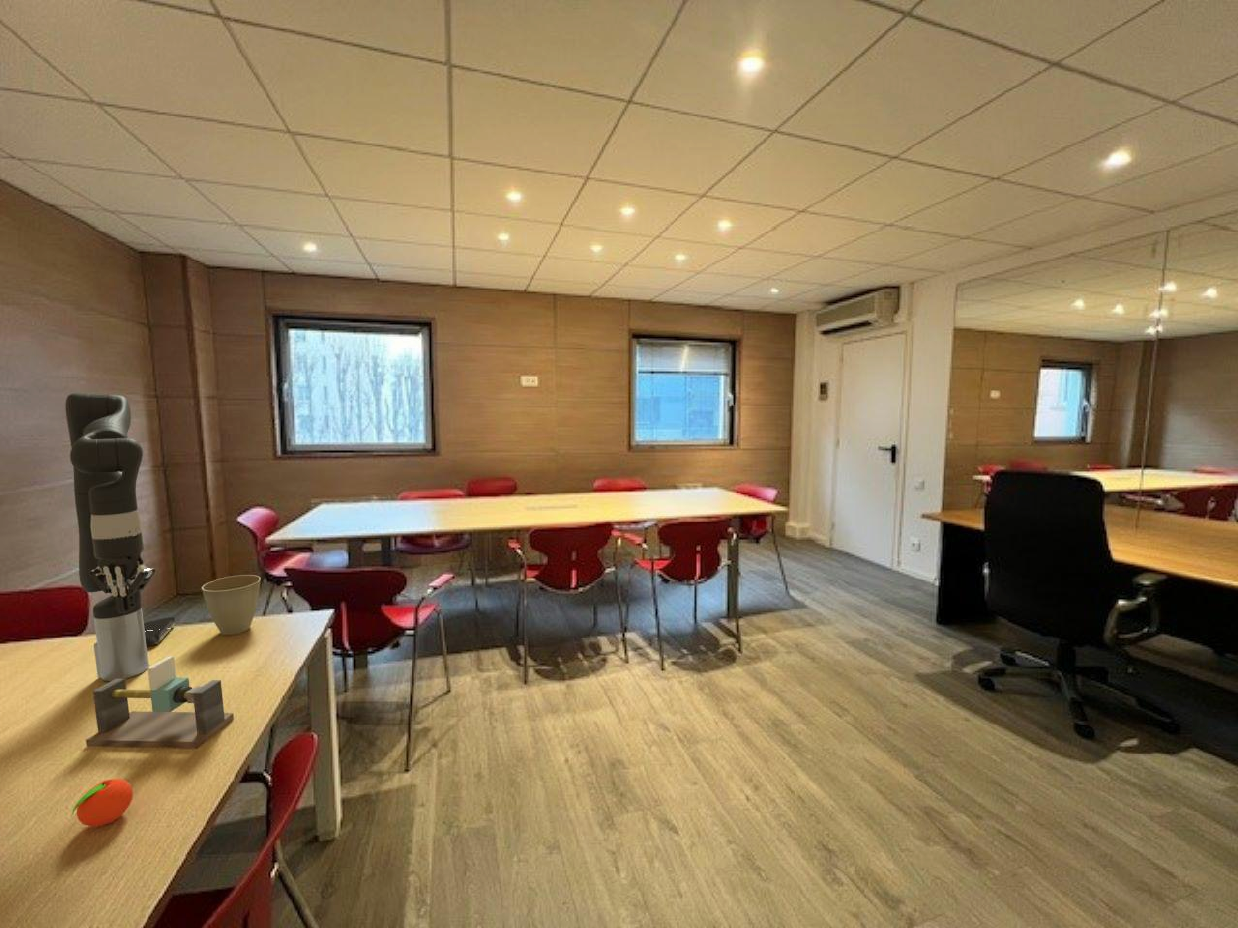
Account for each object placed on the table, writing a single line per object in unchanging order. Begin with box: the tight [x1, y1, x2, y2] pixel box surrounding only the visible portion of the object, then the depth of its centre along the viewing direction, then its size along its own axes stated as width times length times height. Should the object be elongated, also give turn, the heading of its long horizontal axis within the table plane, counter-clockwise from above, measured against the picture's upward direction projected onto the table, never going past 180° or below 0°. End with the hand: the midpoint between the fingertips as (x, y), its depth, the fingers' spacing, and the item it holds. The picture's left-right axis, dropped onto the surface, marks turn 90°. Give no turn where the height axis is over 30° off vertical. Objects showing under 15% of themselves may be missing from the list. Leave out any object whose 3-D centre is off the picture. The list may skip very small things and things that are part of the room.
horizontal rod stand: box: [85, 679, 235, 749], centre depth 112 cm, size 24×10×11 cm, turn 89°
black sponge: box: [144, 616, 176, 647], centre depth 157 cm, size 16×8×4 cm, turn 25°
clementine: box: [70, 778, 134, 828], centre depth 88 cm, size 8×7×7 cm
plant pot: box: [201, 574, 261, 636], centre depth 162 cm, size 15×15×16 cm
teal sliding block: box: [146, 655, 190, 712], centre depth 111 cm, size 4×5×10 cm
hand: (126, 611), depth 109 cm, fingers closed
